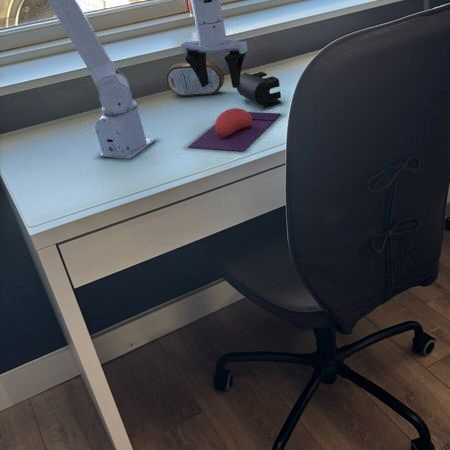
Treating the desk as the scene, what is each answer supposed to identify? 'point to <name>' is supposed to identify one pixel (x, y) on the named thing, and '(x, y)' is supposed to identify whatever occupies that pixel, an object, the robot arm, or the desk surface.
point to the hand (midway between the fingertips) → (220, 85)
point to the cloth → (237, 134)
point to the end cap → (259, 89)
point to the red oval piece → (232, 121)
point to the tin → (193, 80)
